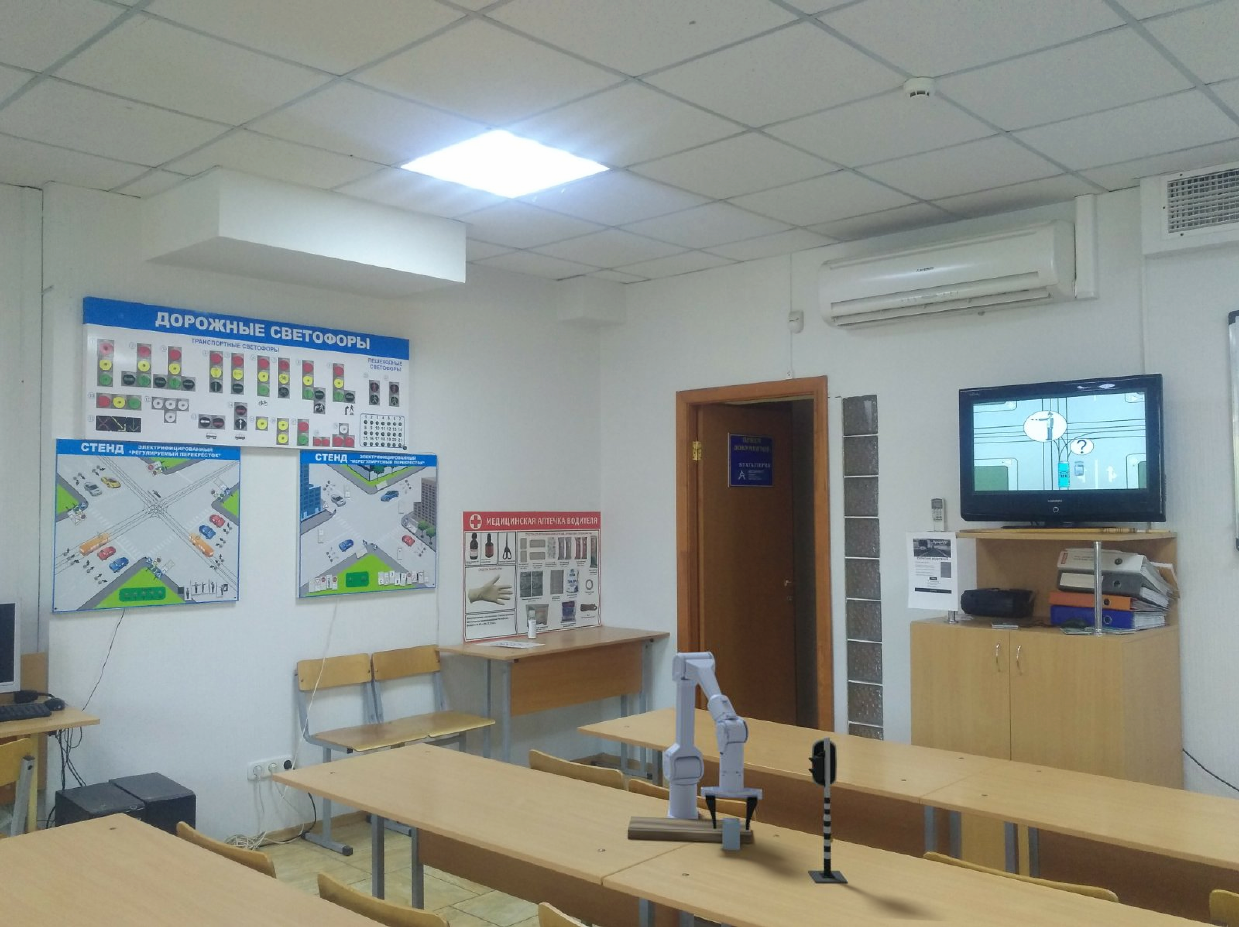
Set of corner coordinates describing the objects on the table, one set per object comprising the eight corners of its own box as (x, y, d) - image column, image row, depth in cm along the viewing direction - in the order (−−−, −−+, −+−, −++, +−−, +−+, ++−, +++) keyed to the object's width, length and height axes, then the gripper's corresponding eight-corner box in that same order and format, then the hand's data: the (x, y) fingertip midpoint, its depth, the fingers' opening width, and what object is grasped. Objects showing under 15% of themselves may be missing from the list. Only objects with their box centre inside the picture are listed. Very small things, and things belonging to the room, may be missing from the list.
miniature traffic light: (838, 871, 222) (838, 733, 224) (847, 883, 214) (846, 740, 217) (805, 871, 222) (804, 733, 224) (812, 882, 214) (812, 740, 216)
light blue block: (722, 839, 245) (722, 814, 245) (738, 840, 244) (738, 814, 245) (722, 849, 237) (722, 823, 237) (739, 850, 236) (740, 824, 237)
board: (631, 824, 256) (631, 816, 256) (749, 828, 253) (749, 820, 254) (627, 838, 244) (627, 829, 244) (751, 843, 242) (751, 834, 242)
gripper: (701, 773, 237) (700, 832, 236) (762, 775, 236) (762, 834, 235) (701, 766, 244) (700, 823, 243) (761, 768, 243) (760, 825, 242)
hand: (730, 828), depth 239 cm, fingers open, 7 cm apart
